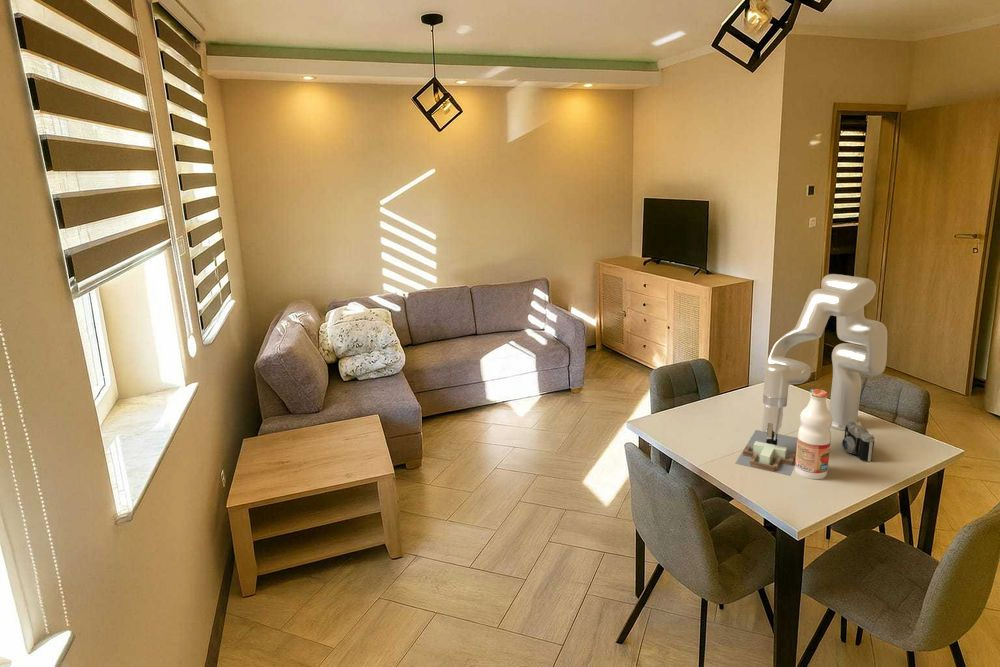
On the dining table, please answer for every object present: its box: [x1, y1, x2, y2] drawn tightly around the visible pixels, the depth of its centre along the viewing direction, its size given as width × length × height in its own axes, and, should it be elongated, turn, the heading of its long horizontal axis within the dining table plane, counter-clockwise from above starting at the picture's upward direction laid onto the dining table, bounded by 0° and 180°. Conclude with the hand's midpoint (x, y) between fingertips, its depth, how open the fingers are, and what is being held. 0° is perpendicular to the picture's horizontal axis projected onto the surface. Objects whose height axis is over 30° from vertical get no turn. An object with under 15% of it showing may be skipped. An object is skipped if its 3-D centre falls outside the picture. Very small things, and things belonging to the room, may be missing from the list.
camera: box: [841, 422, 876, 463], centre depth 207 cm, size 15×7×10 cm, turn 176°
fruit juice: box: [794, 388, 832, 480], centre depth 192 cm, size 9×9×28 cm
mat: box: [734, 429, 797, 477], centre depth 211 cm, size 31×17×1 cm, turn 146°
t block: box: [753, 441, 787, 465], centre depth 204 cm, size 10×10×4 cm
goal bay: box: [742, 444, 795, 473], centre depth 204 cm, size 13×15×2 cm
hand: (771, 449), depth 210 cm, fingers closed
